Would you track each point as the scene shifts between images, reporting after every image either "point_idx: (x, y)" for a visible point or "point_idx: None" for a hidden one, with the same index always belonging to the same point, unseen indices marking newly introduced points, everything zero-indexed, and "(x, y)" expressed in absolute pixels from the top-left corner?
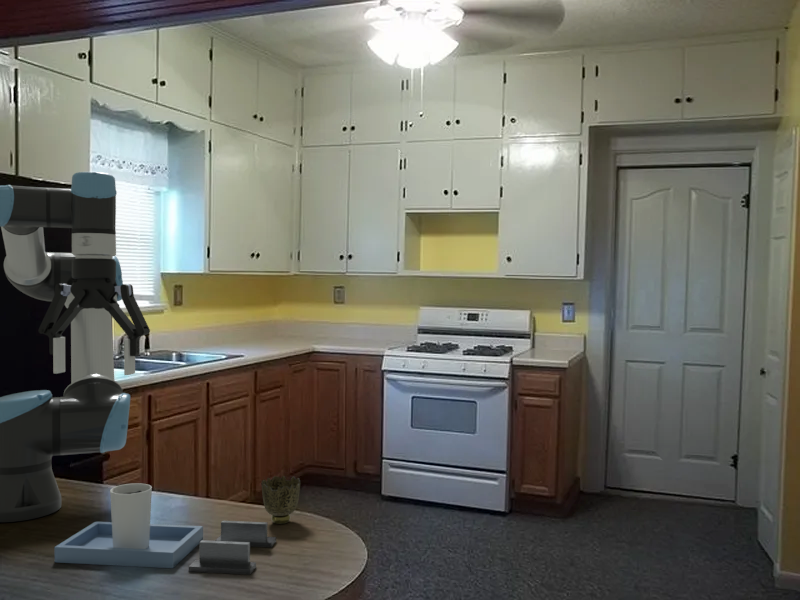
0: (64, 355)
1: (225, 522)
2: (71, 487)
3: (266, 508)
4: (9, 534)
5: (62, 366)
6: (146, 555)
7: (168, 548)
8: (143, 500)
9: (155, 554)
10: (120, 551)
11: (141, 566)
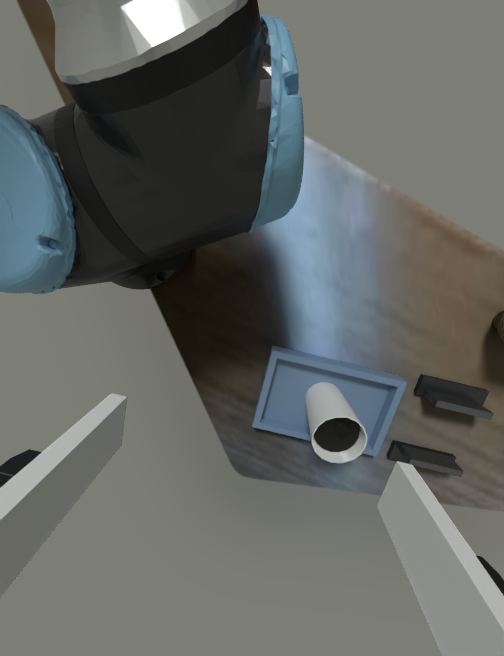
0: (82, 444)
1: (440, 407)
2: None
3: (500, 337)
4: (172, 330)
5: (112, 428)
6: None
7: (364, 407)
8: (354, 447)
9: None
10: None
11: None
